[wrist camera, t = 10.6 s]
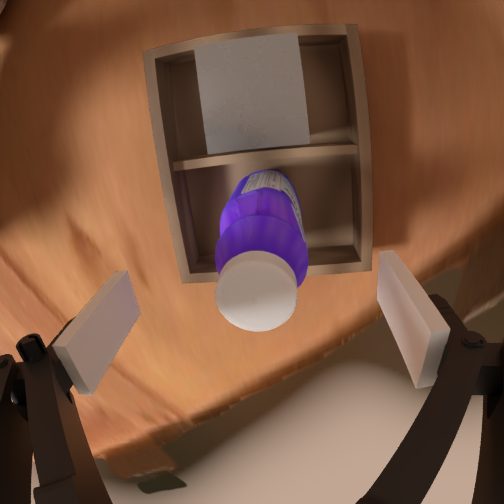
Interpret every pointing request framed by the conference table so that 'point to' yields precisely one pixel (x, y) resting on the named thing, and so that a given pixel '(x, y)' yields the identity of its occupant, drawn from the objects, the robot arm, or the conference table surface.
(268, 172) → the bottle
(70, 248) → the conference table surface
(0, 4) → the decorative sphere
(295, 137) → the block
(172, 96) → the crate
